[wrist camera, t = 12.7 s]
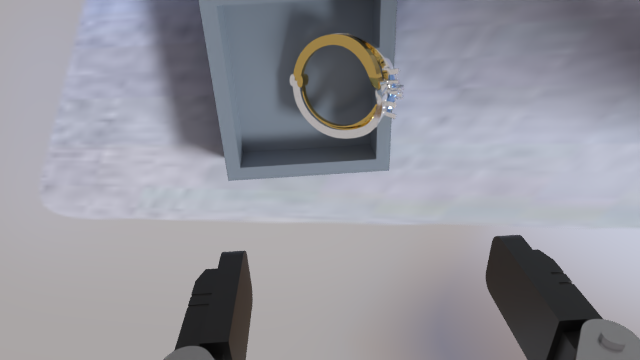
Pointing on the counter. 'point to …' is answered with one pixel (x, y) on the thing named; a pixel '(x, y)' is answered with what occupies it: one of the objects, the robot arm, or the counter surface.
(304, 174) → the dish
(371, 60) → the ring
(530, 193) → the counter surface
